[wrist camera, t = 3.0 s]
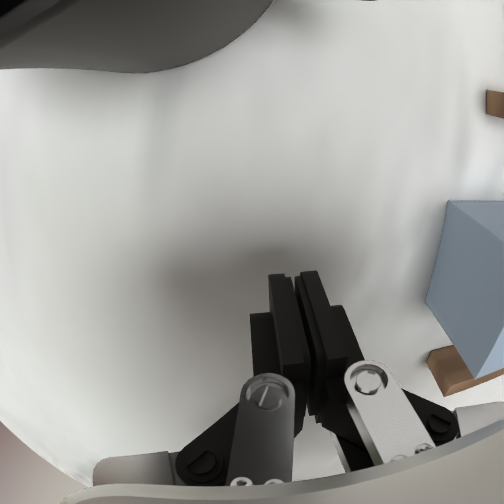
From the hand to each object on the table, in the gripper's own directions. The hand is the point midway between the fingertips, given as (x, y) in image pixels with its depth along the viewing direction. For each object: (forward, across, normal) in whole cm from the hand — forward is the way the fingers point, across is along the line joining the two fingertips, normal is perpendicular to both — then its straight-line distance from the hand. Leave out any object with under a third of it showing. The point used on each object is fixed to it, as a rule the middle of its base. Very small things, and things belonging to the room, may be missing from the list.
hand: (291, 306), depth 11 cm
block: (+3, -11, 0) cm, 12 cm away
